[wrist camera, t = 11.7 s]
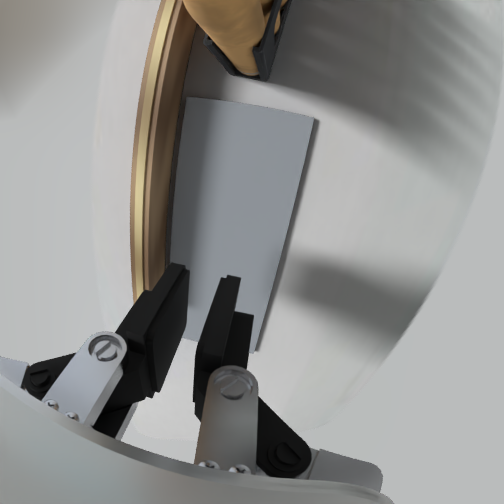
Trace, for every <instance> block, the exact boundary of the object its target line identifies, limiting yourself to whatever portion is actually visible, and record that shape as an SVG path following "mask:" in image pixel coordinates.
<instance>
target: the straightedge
mask: <svg viewBox="0 0 504 504" xmlns="http://www.w3.org/2000/svg"><path fill="white" fill-rule="evenodd" d="M196 25H197V22H196V21H195V20H194V19H193V18H192V17H191V15H190V14H189V12H188V11H187V9H186V7H185V5H184V3H183V0H161V3H160V6H159V10H158V13H157V17H156V20H155V24H154V28H153V32H152V36H151V40H150V44H149V48H148V53H147V58H146V62H145V67H144V73H143V78H142V84H141V90H140V96H139V103H138V110H137V118H136V126H135V135H134V146H133V158H132V173H131V196H130V249H131V272H132V288H133V300H134V304H135V302H136V301H137V299H138V298H139V296H140V295H141V293H142V292H143V291H144V290H149V291H152V290H153V288H154V287H155V285H156V284H157V282H158V281H159V279H160V278H161V276H162V275H163V273H164V272H165V254H166V231H167V214H168V201H169V189H170V178H171V168H172V159H173V150H174V142H175V135H176V128H177V121H178V114H179V108H180V102H181V96H182V90H183V85H184V79H185V74H186V69H187V64H188V59H189V55H190V50H191V46H192V41H193V37H194V33H195V29H196Z"/></svg>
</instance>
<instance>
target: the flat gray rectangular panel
mask: <svg viewBox="0 0 504 504" xmlns="http://www.w3.org/2000/svg"><path fill="white" fill-rule="evenodd" d="M313 121H314V118H313V117H309V116H305V115H301V114H296V113H292V112H287V111H283V110H278V109H273V108H268V107H262V106H256V105H251V104H244V103H238V102H231V101H223V100H215V99H206V98H195V97H187V100H186V106H185V112H184V119H183V125H182V132H181V139H180V147H179V155H178V163H177V172H176V181H175V192H174V203H173V216H172V230H171V248H170V263H171V262H173V263H177V264H182V265H185V266H186V269H187V270H190V280H189V294H188V311H187V324H186V328H185V331H184V333H183V336H182V338H185V339H189V340H193V341H197V342H199V339H200V336H201V333H202V330H203V327H204V324H205V321H206V318H207V315H208V313H209V310H210V307H211V304H212V301H213V298H214V295H215V293H216V290H217V287H218V284H219V281H220V278H221V277H223V278H226V277H227V275H232V276H237V277H241V282H240V287H239V292H238V297H237V303H236V308H235V311H238V312H243V313H247V314H252V315H254V321H253V328H252V335H251V342H250V349H249V353H253V354H254V350H255V347H256V343H257V340H258V337H259V333H260V330H261V326H262V323H263V319H264V316H265V312H266V308H267V305H268V301H269V298H270V294H271V290H272V287H273V283H274V279H275V276H276V272H277V268H278V264H279V261H280V257H281V253H282V249H283V245H284V242H285V238H286V234H287V230H288V226H289V222H290V218H291V214H292V210H293V206H294V202H295V198H296V194H297V190H298V186H299V182H300V177H301V173H302V169H303V165H304V161H305V156H306V152H307V148H308V143H309V139H310V134H311V130H312V126H313Z"/></svg>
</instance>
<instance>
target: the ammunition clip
mask: <svg viewBox="0 0 504 504" xmlns="http://www.w3.org/2000/svg"><path fill="white" fill-rule="evenodd" d="M291 1H292V0H183V3H184V5H185V7H186V9H187V11H188V12H189V14H190V15H191V17H192V18H193V19H194V20H195V21H196V22H197V23H198V24H199V26H200V27H201V28H202V29H203V30H204V31H205V32H206V34H205V37H204V40H203V43H204V45H205V46H206V47H207V48H208V49H209V50H210V51H211V52H212V54H213V55H214V56H215V57H216V58H217V59H218V60H219V62H220V63H221V64H222V65H223V66H224V67H225V69H226V70H227V71H228V72H229V73H230V75H236V76H241V77H246V78H251V79H256V80H260V81H265V82H266V81H267V80H268V79H269V75H270V72H271V68H272V65H273V61H274V58H275V54H276V51H277V47H278V44H279V41H280V37H281V34H282V30H283V27H284V24H285V20H286V17H287V14H288V11H289V7H290V4H291Z"/></svg>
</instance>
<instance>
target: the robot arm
mask: <svg viewBox="0 0 504 504" xmlns="http://www.w3.org/2000/svg"><path fill="white" fill-rule="evenodd" d="M189 280H190V270H187V269H186V266H185V265H182V264H177V263H173V262H171V263H170V265H169V266H168V268H167V269H166V270H165V272H164V273H163V275H162V276H161V278H160V279H159V281H158V282H157V284H156V285H155V287H154V288H153V290H152V291H149V290H144V291H143V292H142V293H141V295H140V296H139V298H138V299H137V301H136V302H135V304H134V305H133V306H132V308H131V309H130V311H129V312H128V314H127V315H126V317H125V318H124V320H123V321H122V323H121V324H120V326H119V327H118V329H117V330H116V332H115V333H113V332H99V333H96V334H94V335H92V336H90V338H88V339H87V340H86V342H85V343H84V344H83V345H82V347H81V348H80V349H79V351H78V352H77V353H73V354H69V355H66V356H62V357H58V358H54V359H50V360H46V361H41V362H38V363H35V364H33V365H31V366H29V364H28V363H27V362H22V361H17V360H13V359H9V358H5V357H1V356H0V504H394V503H393V501H392V500H391V499H390V498H388V497H387V496H385V495H384V494H381V493H380V490H381V486H382V479H383V478H382V477H383V475H382V473H381V470H380V469H379V468H378V467H377V466H376V465H374V464H372V463H369V462H365V461H361V460H357V459H353V458H350V457H346V456H342V455H339V454H335V453H332V452H329V451H326V450H323V449H320V450H319V451H318V450H315V449H312V448H309V446H308V445H307V444H306V442H305V441H304V440H303V439H302V438H301V437H299V436H298V435H297V434H296V433H295V432H294V431H293V430H292V429H291V428H290V427H289V426H288V425H287V424H286V423H285V422H284V421H283V420H282V419H281V418H280V417H279V416H278V415H277V414H276V413H275V412H274V411H273V410H272V409H271V408H270V407H269V406H268V405H267V404H266V403H265V402H264V401H263V400H262V399H261V398H260V397H259V396H258V382H257V380H256V378H255V376H254V375H253V374H252V373H251V372H249V371H248V370H247V363H248V356H249V349H250V342H251V335H252V328H253V321H254V315H252V314H247V313H243V312H238V311H235V308H236V303H237V297H238V292H239V287H240V282H241V277H237V276H232V275H227V277H226V278H223V277H221V278H220V281H219V284H218V287H217V290H216V293H215V295H214V298H213V301H212V304H211V307H210V310H209V313H208V315H207V318H206V321H205V324H204V327H203V330H202V333H201V336H200V339H199V342H198V345H197V349H196V354H195V368H194V385H193V402H195V415H196V417H197V418H198V419H199V420H200V422H201V425H200V431H199V437H198V442H197V448H196V454H195V460H194V464H190V463H186V462H182V461H178V460H175V459H171V458H168V457H164V456H161V455H158V454H155V453H152V452H149V451H146V450H143V449H140V448H137V447H134V446H132V445H129V444H126V443H124V442H121V438H122V437H123V434H124V432H125V430H126V428H127V426H128V424H129V422H130V420H131V418H132V416H133V414H134V412H135V410H136V408H137V406H138V402H139V401H142V400H145V398H146V397H149V398H153V396H154V393H155V392H160V391H161V388H162V386H163V383H164V381H165V378H166V375H167V373H168V370H169V368H170V365H171V363H172V360H173V358H174V355H175V353H176V350H177V348H178V346H179V343H180V341H181V338H182V336H183V333H184V331H185V328H186V324H187V311H188V294H189Z"/></svg>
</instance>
